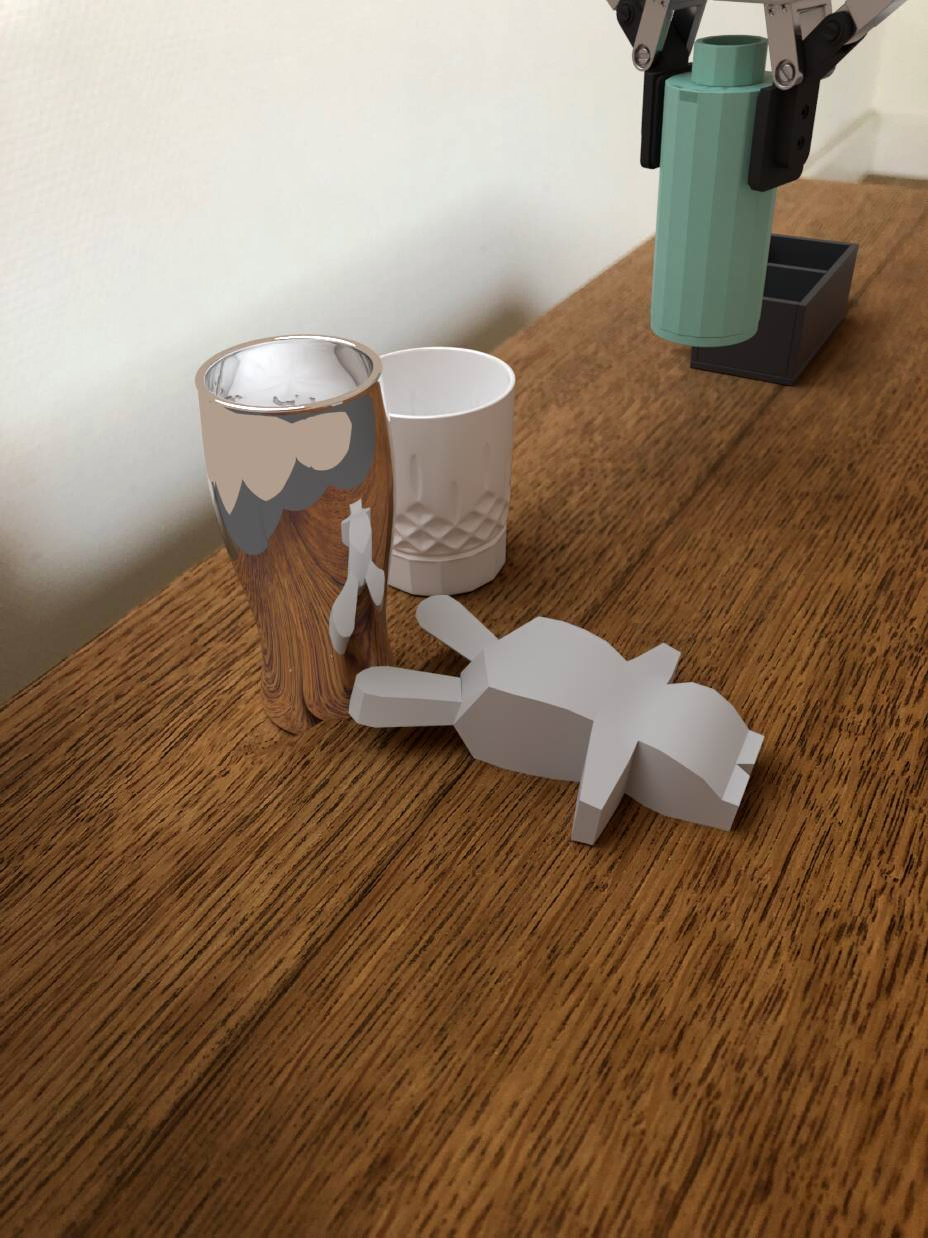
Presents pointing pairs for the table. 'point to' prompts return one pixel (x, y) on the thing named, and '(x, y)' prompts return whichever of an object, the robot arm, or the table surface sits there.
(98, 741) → the table surface
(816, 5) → the robot arm
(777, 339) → the holder
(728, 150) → the bottle
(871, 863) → the table surface
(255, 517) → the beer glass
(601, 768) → the bunny figurine
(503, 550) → the white cup
